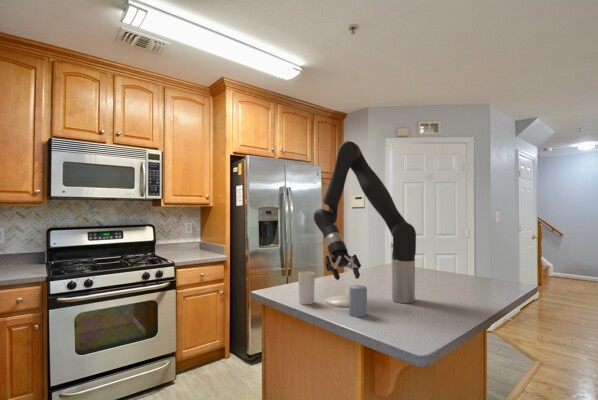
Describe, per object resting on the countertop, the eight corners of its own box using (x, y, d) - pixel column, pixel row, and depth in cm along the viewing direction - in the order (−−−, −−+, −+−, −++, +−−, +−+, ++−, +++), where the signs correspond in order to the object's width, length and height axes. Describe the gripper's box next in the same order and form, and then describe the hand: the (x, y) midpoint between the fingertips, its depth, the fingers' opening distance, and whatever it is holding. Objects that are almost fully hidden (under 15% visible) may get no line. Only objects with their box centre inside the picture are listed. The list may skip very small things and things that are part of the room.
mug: (316, 304, 132) (316, 274, 132) (299, 305, 130) (300, 275, 131) (310, 297, 141) (311, 270, 142) (295, 298, 140) (295, 270, 141)
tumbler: (355, 310, 124) (355, 284, 124) (369, 314, 120) (369, 286, 120) (346, 314, 119) (346, 287, 120) (360, 318, 115) (360, 289, 116)
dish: (337, 296, 144) (337, 294, 144) (363, 302, 135) (363, 299, 136) (319, 302, 134) (319, 300, 134) (346, 309, 126) (346, 306, 126)
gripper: (322, 240, 133) (334, 273, 122) (353, 239, 138) (367, 271, 127) (317, 251, 138) (328, 284, 127) (347, 250, 143) (361, 282, 132)
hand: (348, 278), depth 127 cm, fingers open, 8 cm apart
